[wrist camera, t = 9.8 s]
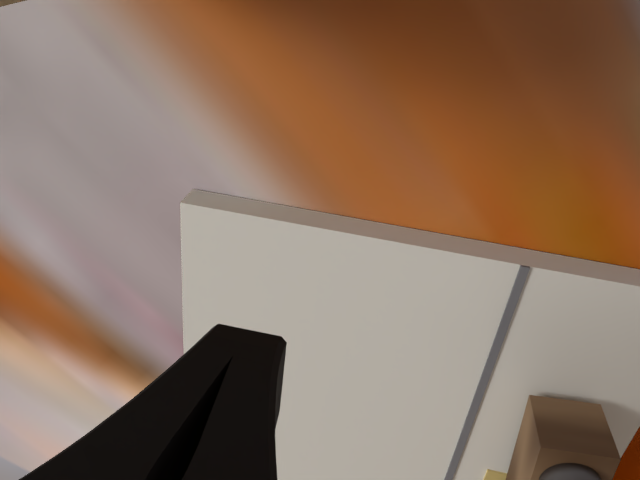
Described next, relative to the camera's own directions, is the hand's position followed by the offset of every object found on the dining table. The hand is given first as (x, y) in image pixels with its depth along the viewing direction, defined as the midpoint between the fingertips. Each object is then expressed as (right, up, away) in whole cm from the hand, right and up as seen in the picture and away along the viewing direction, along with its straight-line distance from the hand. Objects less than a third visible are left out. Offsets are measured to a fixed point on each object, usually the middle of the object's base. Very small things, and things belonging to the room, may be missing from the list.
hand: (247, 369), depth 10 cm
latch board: (+4, -5, +13) cm, 15 cm away
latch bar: (+10, -9, +12) cm, 18 cm away
